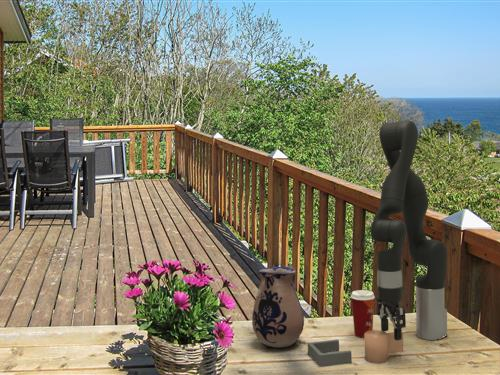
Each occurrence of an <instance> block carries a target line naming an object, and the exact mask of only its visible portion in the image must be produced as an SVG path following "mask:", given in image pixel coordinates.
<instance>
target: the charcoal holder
mask: <svg viewBox="0 0 500 375" xmlns="http://www.w3.org/2000/svg"><path fill="white" fill-rule="evenodd" d="M307 354H308V355H309V357H311V359H312V360H313V361H314V362H315V363H316V364H317V365H318V366H319V367H320V368H322V367H329V366H337V365H344V364H352V362H353V361H352V360H353V359H352V356H353V355H352V351H351V349H350V350H343V351H342V350H341V351H340V340H339V339H330V340H321V341H314V342H307Z"/></svg>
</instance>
